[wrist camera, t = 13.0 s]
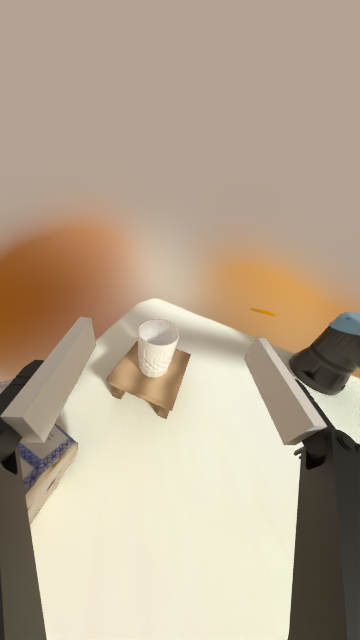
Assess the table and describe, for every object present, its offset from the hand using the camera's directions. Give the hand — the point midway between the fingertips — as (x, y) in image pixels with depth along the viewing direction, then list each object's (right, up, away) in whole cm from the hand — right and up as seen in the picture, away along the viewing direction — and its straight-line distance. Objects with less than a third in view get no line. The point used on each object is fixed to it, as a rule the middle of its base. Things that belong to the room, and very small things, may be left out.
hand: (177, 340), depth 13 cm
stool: (-7, -14, +27) cm, 31 cm away
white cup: (-6, -9, +23) cm, 25 cm away
